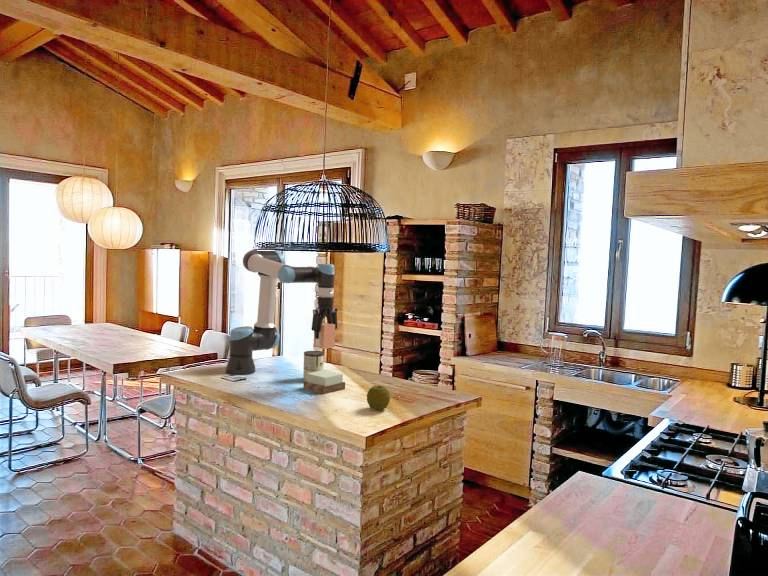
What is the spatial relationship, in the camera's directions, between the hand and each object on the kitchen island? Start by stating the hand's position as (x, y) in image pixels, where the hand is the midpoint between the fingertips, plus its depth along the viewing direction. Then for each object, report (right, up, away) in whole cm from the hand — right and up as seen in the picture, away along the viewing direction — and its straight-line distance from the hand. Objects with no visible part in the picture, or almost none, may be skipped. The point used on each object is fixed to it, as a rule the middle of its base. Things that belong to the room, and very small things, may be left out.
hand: (324, 344), depth 270 cm
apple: (+26, -25, -29) cm, 46 cm away
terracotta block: (0, -1, 0) cm, 1 cm away
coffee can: (-8, -20, +19) cm, 29 cm away
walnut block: (0, -22, +2) cm, 22 cm away
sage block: (0, -18, +1) cm, 18 cm away
